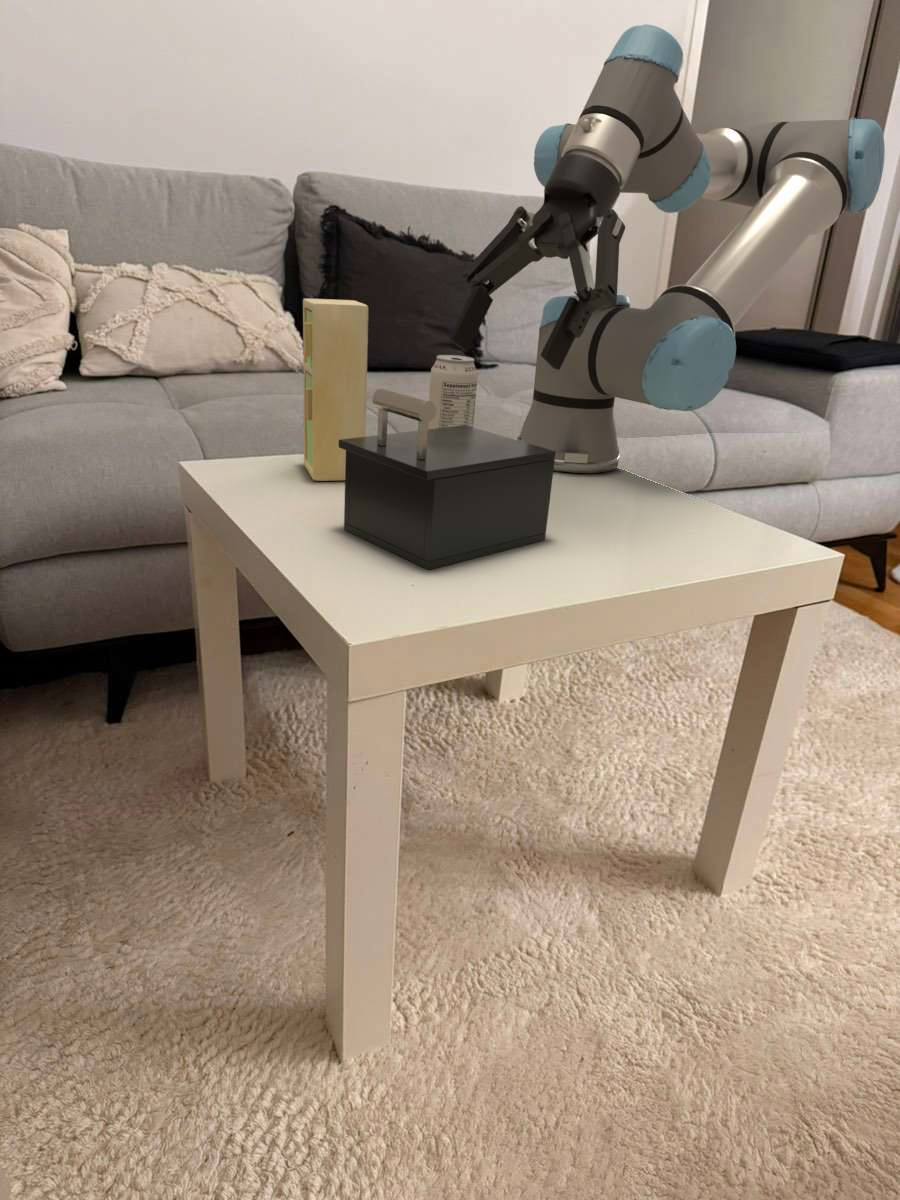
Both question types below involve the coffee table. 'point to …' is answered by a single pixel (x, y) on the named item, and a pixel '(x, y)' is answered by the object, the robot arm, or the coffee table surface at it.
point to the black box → (446, 510)
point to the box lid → (437, 443)
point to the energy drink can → (453, 391)
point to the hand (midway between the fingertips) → (501, 353)
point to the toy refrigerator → (333, 382)
